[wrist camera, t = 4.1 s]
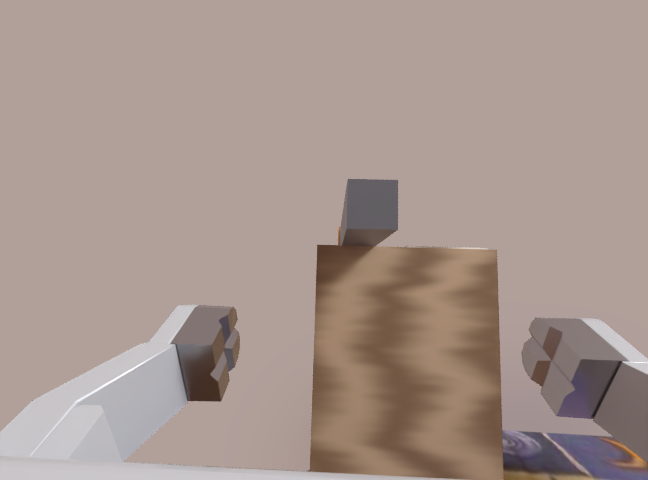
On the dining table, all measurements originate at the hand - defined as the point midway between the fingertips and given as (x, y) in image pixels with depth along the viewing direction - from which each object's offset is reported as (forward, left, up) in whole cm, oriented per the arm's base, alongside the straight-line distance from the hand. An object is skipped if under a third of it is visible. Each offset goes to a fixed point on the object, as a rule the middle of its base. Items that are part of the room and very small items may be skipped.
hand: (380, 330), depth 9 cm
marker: (0, -16, +4) cm, 16 cm away
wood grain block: (-4, -20, -22) cm, 30 cm away
